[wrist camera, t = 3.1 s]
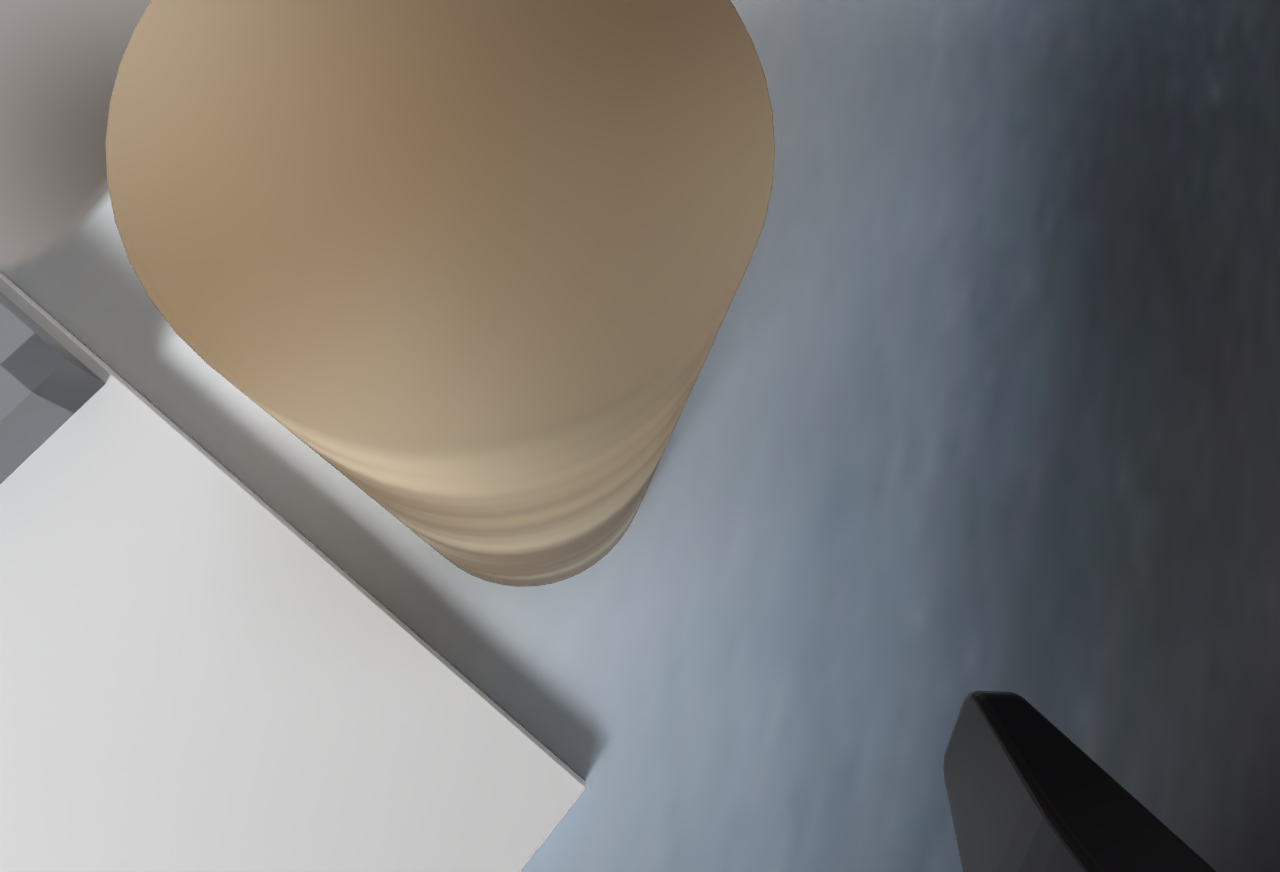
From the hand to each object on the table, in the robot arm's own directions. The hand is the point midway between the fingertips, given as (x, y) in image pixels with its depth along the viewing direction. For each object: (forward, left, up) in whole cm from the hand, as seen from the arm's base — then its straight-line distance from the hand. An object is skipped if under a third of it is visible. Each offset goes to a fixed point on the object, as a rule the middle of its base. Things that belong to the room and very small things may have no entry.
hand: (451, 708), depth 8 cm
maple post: (+3, -3, -11) cm, 12 cm away
